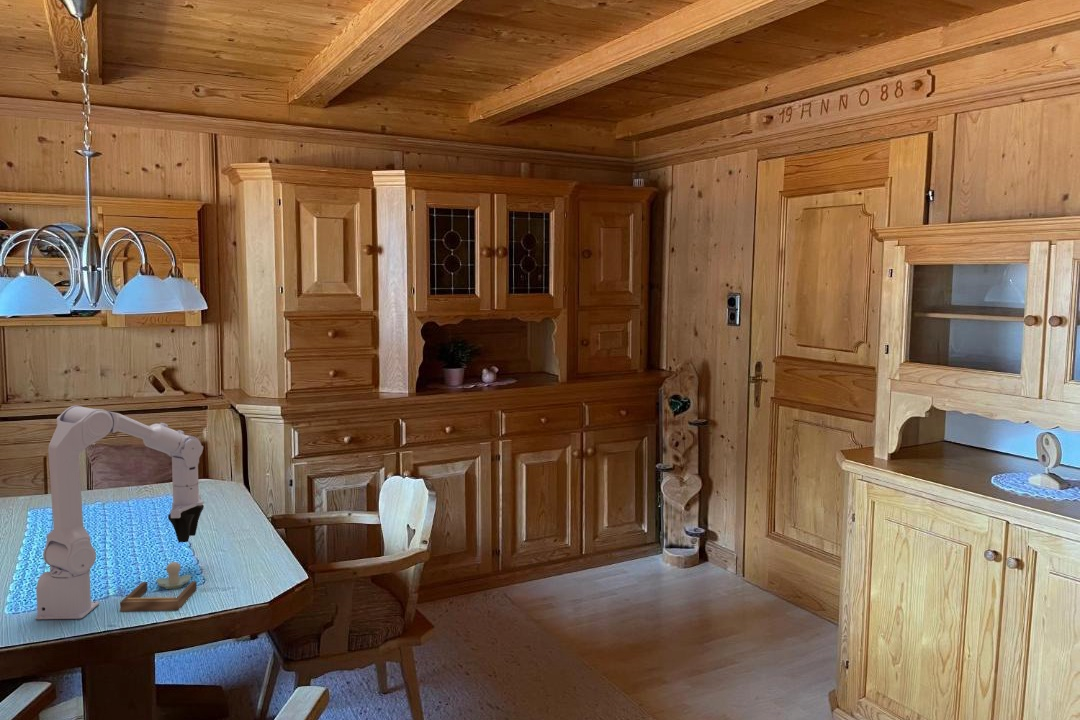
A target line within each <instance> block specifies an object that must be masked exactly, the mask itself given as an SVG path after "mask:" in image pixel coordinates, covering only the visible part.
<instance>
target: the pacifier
mask: <svg viewBox="0 0 1080 720" xmlns="http://www.w3.org/2000/svg"><path fill="white" fill-rule="evenodd" d="M180 571H181V564H180V563H179V562H176V561H171V562H170V563H168V565H167V566H166V573H167V574H168V577H167V578H164V577H163V578H157V579H156V582H155V583H156V584H157V585H158V587H160V588H165V589H166V588H168V589H167V590H172V589H171V588H175V589H179V588H178V587H180V588H182V587H183V586H182V585H185V584H188V583H189V582H190V580H191V578H192V575H191V574H186V575H182V576H179V575H180V574H179V573H180ZM181 586H182V587H181Z"/></svg>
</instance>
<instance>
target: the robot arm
mask: <svg viewBox="0 0 1080 720" xmlns="http://www.w3.org/2000/svg"><path fill="white" fill-rule="evenodd" d="M168 426H169V425H168V424H167V423H165V422H159V423H153V424H151V425H148V424H145V423H143V422H139V421H137V420H136V419H132V418H131V417H129V416H126V415H123V414H121V413H119V412H113V411H107V410H105V409H102V408H91V407H84V406H81V405H72V406H69V407H67V408H66V409H65V410H64V411H63V412H62V413H61V414H59V415H58V416H57V418H56V427H55V430H54V432H53V434H52V437H51V439H50V442H49V444H48V447H47V448H48V449H47V451H48V465H49V468H48V469H49V480H50V482H49V483H50V493H51V495H50V496H51V507H52V508H51V510H52V526H53V529H52V530H51V531H50V532H49V533H48V534H47V535H46V545H45V547H44V549H43V552H42V557H43V558H42V559H43V561H44V562H45V564H46V565H48V566H49V571H45V572H43V573H42V574H41V575H40V576H39V578H38V580H37V583H36V589H35V590H36V592H35V593H36V610H37V611H36V612H37V613H36V614H37V615H36V616H35V620H74V619H75V620H76V619H77V620H79V619H80V620H81V619H84V617H86V616H87V615H88V614H89V613H90V612H91V611H93V610H94V609H95V608H96V607H97V606H99V604H100V601H92V596H91V574H90V573H91V569H92V567H93V566H94V564H95V563H96V559H97V553H96V550H95V548H94V546H93V545H92V542H91V536H90V535H89V533H88V531H87V529H86V528H85V526H84V518H83V515H84V514H83V503H82V502H83V501H82V485H81V484H82V483H81V469H80V467H81V465H80V455H81V453H82V452H83V451H84V450H85V449H86V448H88V447H90V446H91V445H93V444H94V443H96V442H99V441H100V440H102V439H103V438H105V437H106V436H107V435H109V433H110V434H114V433H116V432H119V433H123V434H126V435H129V436H132V437H136V438H138V439H142V442H143V445H144V446H145V447H147V448H150V449H153V450H156V451H158V452H160V453H161V452H162V453H163V454H166V455H167V456H168V457H170V458H171V467H172V468H171V471H172V472H171V473H172V474H171V475H172V480H171V481H172V503H171V504H172V505H171V506H172V507H171V509H170V513H169V514H168V515H167V518H168V520H169V522H170V523H171V525H172V526H173V529H174V533H175V535H176V538H177V541H178V543H188V542H189V540H190V537H193V536H196V534H197V530H198V525H199V519H200V517H201V513H202V512H203V510H204V508H205V507H204V504H205V501H204V500H202V498H201V497H202V494H201V493H200V492H199V464H200V458H201V455H202V454H203V450H204V445H202V443H201V440H200V439H199V438H198V437H196V436H193V435H186V434H185V431H183V430H181V429H178V430H175V429H173V428H169V427H168Z"/></svg>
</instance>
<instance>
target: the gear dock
mask: <svg viewBox="0 0 1080 720" xmlns="http://www.w3.org/2000/svg"><path fill="white" fill-rule="evenodd" d="M197 588H198V587H197V580H195V581H194V580H193V581H191V582H190V583H189V584H188V585H187V586H186V587H185V588H184V589H183V590H182V591H181V592H180V593H179V594H178V595H177V596H173V597H172V596H170V597H169V596H167V597H165V596H162V597H142V596H143V595H144V594H145V593H147V592H148V582H147V581H142V582H141V583H139V584H138V586H136V587H135V588H134V589H133V590H132V591H131V592H130V593H128V595H126V597H124V598H123V599H122V600H121V601H120V602H119V603H120V604H119V609H120V610H119V611H120V612H145V611H146V612H147V611H148V612H149V611H152V612H153V611H154V612H155V611H160V612H161V611H179V610H180V609H181V608H182V606H184V604H185V603H186V602H187V601H188V600H189V599H190V598H191V596H192V595H193V594H194V593H196V591H197V590H196V589H197ZM189 597H190V598H189ZM188 598H189V599H188ZM186 600H187V601H186ZM179 608H180V609H179Z"/></svg>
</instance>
